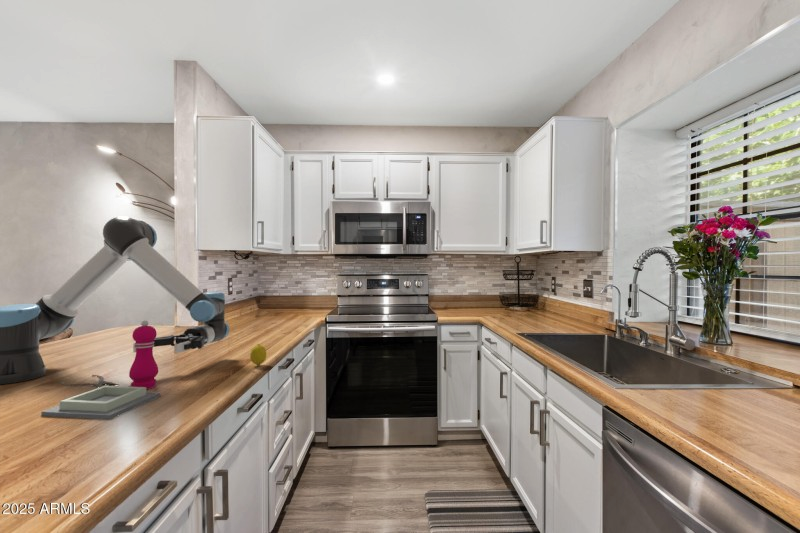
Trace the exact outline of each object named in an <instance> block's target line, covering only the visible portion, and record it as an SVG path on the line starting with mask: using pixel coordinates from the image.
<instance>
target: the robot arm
mask: <svg viewBox="0 0 800 533" xmlns="http://www.w3.org/2000/svg"><path fill="white" fill-rule="evenodd" d="M102 235H103V247H102V248H101V249H100V250H99V251H97V253H95V254H94V255H93V256H92V257H91V258H89V260H88V261H87V262H86V263H85V264H84V265H82V267H80V269H78V270H77V271H76V272H75V273H74V274H72V276H70V278H69V279H67V280H66V281H65V282H64V283H63V284H62V285H61V286H60V287H59V288H58V289H57V290H56V291H55V292H54V293H53V294H44V295H43V296H42V297H41V298H40V299H39V300H38V301H37V302H35V303H14V304H8V305H7V304H6V305H1V306H0V385H6V384H14V383H15V384H16V383H20V382H25V381H31V380H34V379H37V378H41V377H43V376H45V375H46V373H47V368H46V365H45V363H44V360H43V357H42V355H41V353H40V340H42V339H47V338H53V337H56V336H58V335H60V334H62V333H65V332H67V330H69V329H70V328H71V326H73V323H74V320H75V317H77V315H78V314H79V311H78V308H80V306H82V304H83V303H84V302H86V301H87V299H89V298H90V297H91V296H92V295H93V294H94V293H95V292H96V291H97V290H98V289H99V288H100V287H101V286H103V284H104V283H106V282H107V281H108V280H109V278H111V276H112V275H114V274H115V273H116V272H117V271H118V270H119V269H120V268H122V266H123V265H124V264H125V263H126V262H129V261H130V262H133V263H134V264H135V265H136V266H138V268H140V269H141V270H142V271H143V272H144V273H145V274H147V275H148V276H149V277H150V278H151V279H152V280H153V281H154V282H156V284H157V285H159V286H160V287H161V288H163V289H164V290H165V291H166V292H167V293H168V294H169V295H170V296H172V298H173V299H175V301H177V302H179V304H180V305H182V306H183V307H184V308H185V309H186V310H187V311H188V312H189V315H190V317H191V319H192V320H194V321H195V322H199V323H203V324H200V325H197V326H194V327H193V326H192V327H190V328H187V329H185V330H184V332H183V333H180V334H175V335H174V334H170V335H166V336H158V337H157V336H156V337H155V339H154V340H153V341H154V346H153V348H154V347H155V348H157V347H165V346H172V347H174V348H173V354H175V355H176V354H179V353H183V352H186V351H189V350H191V349H192V350H194V349H199V350H200V349H202V348H203V347H205V345H206V346H207V345H208V344H212V343H215V342H220V341H222V340H224V339H226V338H227V337H228V335H229V333H230V331H231V330H230V326H229V324H228V323H227V322H226V320H225V319H226V318H225V314H226V313H225V312H226V310H225V306H226V297H225V295H226V294H225V293H224V292H218V291H217V292H214V291H213V292H205V293H203V291H202V290H200V289H199V288H198V287H197V286H196V285H195V284H194V283H192V281H190V280H189V279H188V278H187V277H186V276H185V275H184V274H182V273H181V271H179V270H178V269H177V268H176V267H175V266H174V265H173V264H171V263H170V262H169V261H168V260H167V259H166V258H165V257H164V256H163V255H162V254H161V253H159V251H157V250H156V249H155V248H154V247H155V246H156V244H157V240H158V237H157V232H156V230H155V228H154V227H153V226H152V225H151V224H149V223H147V222H146V221H143V220H139V219H134V218H132V217H129V216H116V217H113V218H111V219H109V220H108V221H107V222H106V223H104V226H103V229H102ZM132 346H133V347H132V348H133V351H132V353H136V348H134V346H135V344H134V343H133V345H132Z"/></svg>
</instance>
